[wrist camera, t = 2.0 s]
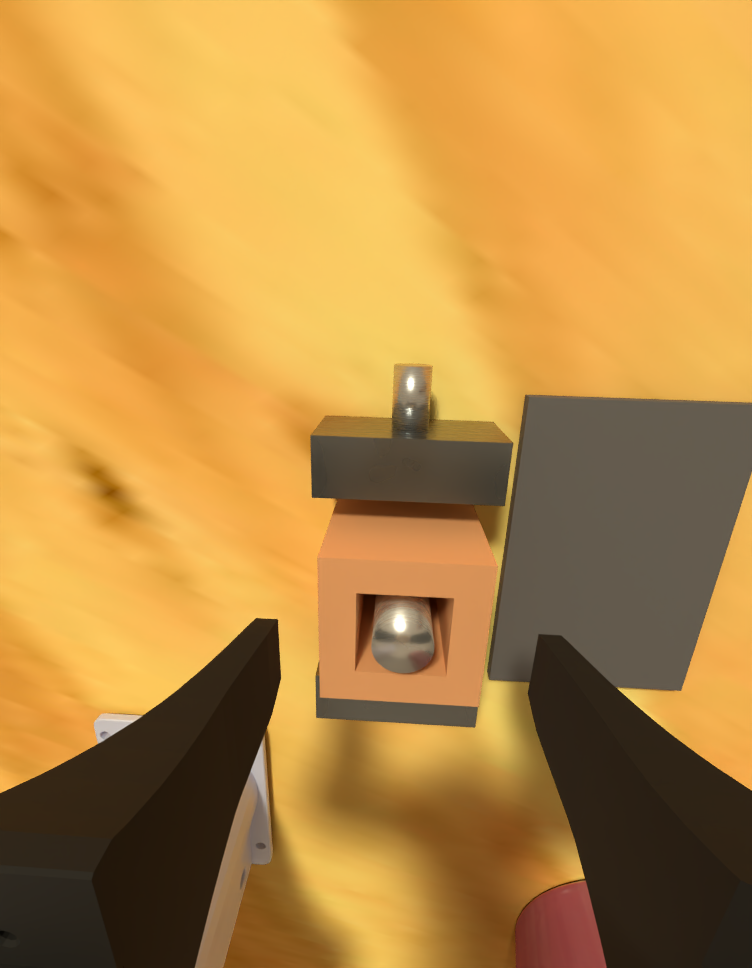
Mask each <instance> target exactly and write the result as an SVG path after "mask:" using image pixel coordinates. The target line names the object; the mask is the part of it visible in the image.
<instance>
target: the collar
mask: <svg viewBox="0 0 752 968" xmlns="http://www.w3.org/2000/svg"><path fill="white" fill-rule="evenodd" d="M497 568H498V566H497V563H496V561H495V558H494V556H493V553H492V551H491V548H490V546H489V543H488V541H487V538H486V536H485V533H484V531H483V529H482V526H481V524H480V521H479V519H478V516H477V514H476V511H475V509H474V506H473V505H471V504H448V503H426V502H403V501H380V500H358V499H338V500H337V503H336V506H335V508H334V511H333V514H332V517H331V520H330V523H329V526H328V529H327V532H326V534H325V537H324V540H323V543H322V546H321V549H320V552H319V555H318V616H319V674H320V698H337V699H354V700H371V701H387V702H404V703H421V704H438V705H454V706H471V707H479V702H480V694H481V687H482V680H483V672H484V665H485V657H486V650H487V642H488V635H489V628H490V620H491V613H492V605H493V598H494V590H495V583H496V575H497ZM376 594H379V595H399V596H418V597H429V601H430V610H431V619H432V629H433V638H434V654H433V657H432V659H431V660H430V662H429V663H428V664H427V665H426V666H425V667H423V668H421V669H420V670H417V671H415V672H411V673H396V672H392V671H389V670H387V669H385V668H384V667H382V666H381V665H380V664H379V663H378V662H377V661H376V660H375V658H374V656H373V654H372V649H371V645H372V633H373V621H374V610H375V598H376Z"/></svg>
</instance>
